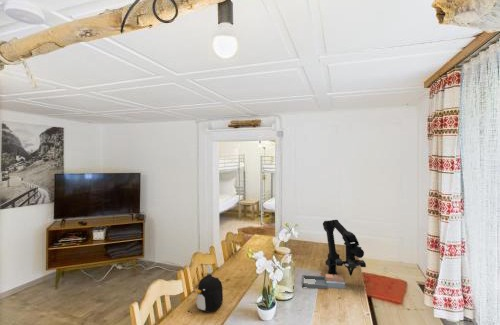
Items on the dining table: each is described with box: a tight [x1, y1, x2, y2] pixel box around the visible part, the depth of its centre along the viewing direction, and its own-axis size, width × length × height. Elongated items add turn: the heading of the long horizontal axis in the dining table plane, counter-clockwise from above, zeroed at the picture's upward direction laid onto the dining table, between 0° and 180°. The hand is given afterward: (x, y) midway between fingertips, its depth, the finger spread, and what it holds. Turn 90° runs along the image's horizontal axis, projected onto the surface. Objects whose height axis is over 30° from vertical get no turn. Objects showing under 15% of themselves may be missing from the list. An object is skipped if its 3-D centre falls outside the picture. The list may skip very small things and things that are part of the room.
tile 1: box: [324, 273, 334, 281], centre depth 176 cm, size 5×5×2 cm
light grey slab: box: [325, 277, 346, 290], centre depth 175 cm, size 10×12×4 cm
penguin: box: [195, 274, 224, 312], centre depth 153 cm, size 18×18×17 cm
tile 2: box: [333, 274, 344, 282], centre depth 175 cm, size 5×5×2 cm
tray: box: [301, 274, 328, 290], centre depth 178 cm, size 14×16×2 cm
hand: (350, 275), depth 174 cm, fingers closed
